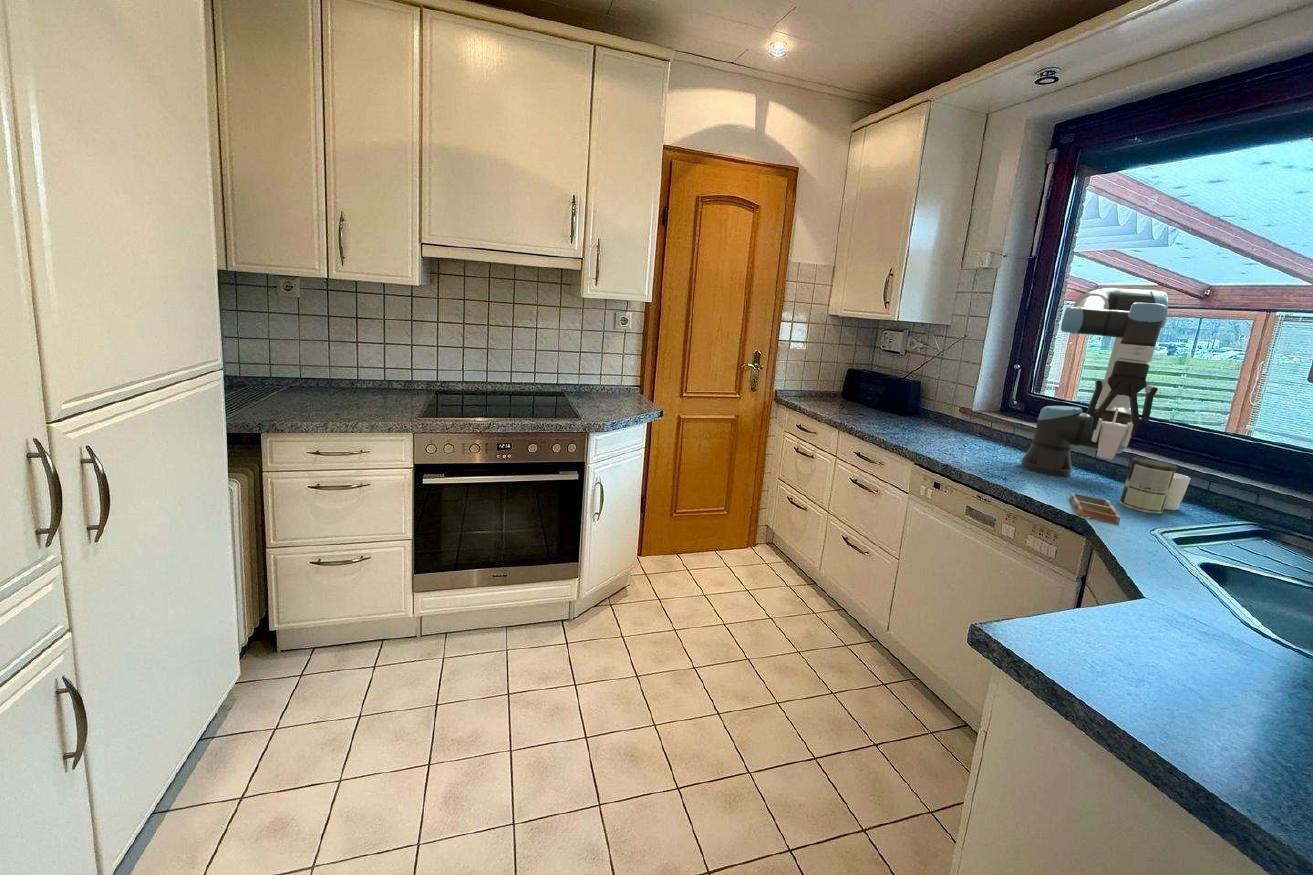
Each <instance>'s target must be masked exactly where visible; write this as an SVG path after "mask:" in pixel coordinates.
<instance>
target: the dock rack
mask: <svg viewBox="0 0 1313 875" xmlns="http://www.w3.org/2000/svg"><path fill="white" fill-rule="evenodd" d="M1068 499H1070V500H1069V502H1070V503H1071V506H1072V508H1073V507H1074V508H1073V509H1075V510H1074V512H1075V511H1076V512H1075V514H1076V513H1077V514H1076V516H1077V515H1078V517H1082V516H1083V518H1086V517H1090V518H1089V519H1091V518H1093V519H1092V520H1095V519H1096V520H1097V521H1101V522H1106V523H1111V524H1114V525H1115V524H1116V525H1120V522H1121V520H1122V517H1121V515H1120V514H1119V512H1118V511H1117V509H1116V508H1115V507H1114V505H1113V504H1112V503H1111V502H1110V499H1109V500H1108V499H1106V498H1099V497H1094V496H1089V495H1084V494H1079V493H1074V492H1070V494H1069V497H1068Z"/></svg>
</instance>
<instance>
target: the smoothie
mask: <svg viewBox="0 0 1313 875" xmlns="http://www.w3.org/2000/svg"><path fill="white" fill-rule="evenodd" d="M1118 411H1119V409H1118V408H1116V412H1115V415H1114V419H1113V422H1107V421H1102V424H1101V428H1100V436H1099V444H1098V450H1096V451H1097V453H1096V456H1097V457H1099V458H1101V459H1109V460H1113V459H1114V458H1115V456H1116V454H1117V453H1116V451H1117V449H1118V447H1119V445H1120V443H1121V441H1122V438H1123V436H1124V434H1125V432H1126V430H1128V427H1129V426H1127V425H1124V424H1120V423H1115V421H1116V417H1117V414H1118Z"/></svg>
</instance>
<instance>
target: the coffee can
mask: <svg viewBox="0 0 1313 875" xmlns="http://www.w3.org/2000/svg"><path fill="white" fill-rule="evenodd" d="M1177 469H1178V466H1177V465H1176V464H1173V463H1170V462H1166V461H1163V460H1158V459H1154V458H1150V457H1149V458H1148V457H1141V456H1140V457H1139V456H1138V457H1136V456H1135V457H1132V458H1131V463H1130V467H1129V470H1128V473H1127V475H1126V479H1125V484H1124V487H1123V490H1122V493H1121V497H1120V499H1119V504H1120V505H1121V506H1124V507H1126V508H1129V509H1132V510H1135V511H1137V512H1138V511H1139V512H1143V513H1148V514H1158V515H1159V514H1160V515H1161V514H1163V513H1164V510H1165V509H1164V506H1165V503H1166V499H1167V496H1168V493H1169V490H1170V487H1171V484H1172V481H1173V478H1174V474H1175V473H1176V471H1177Z"/></svg>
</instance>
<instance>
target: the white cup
mask: <svg viewBox="0 0 1313 875" xmlns="http://www.w3.org/2000/svg"><path fill="white" fill-rule="evenodd" d="M1190 481H1191V477H1189V476H1187V475H1183V474H1180V473H1176V472H1175V474H1174V478H1173V481H1172V484H1171V487H1170V490H1169V493H1168V496H1167V499H1166V503H1165V506H1164V509H1163V510H1168V511H1169V510H1171V511H1177V510H1179V508H1180V506H1181V502H1182V501H1183V500H1184V497H1185V494H1186V491H1187V489H1188V486H1189V483H1190Z"/></svg>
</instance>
